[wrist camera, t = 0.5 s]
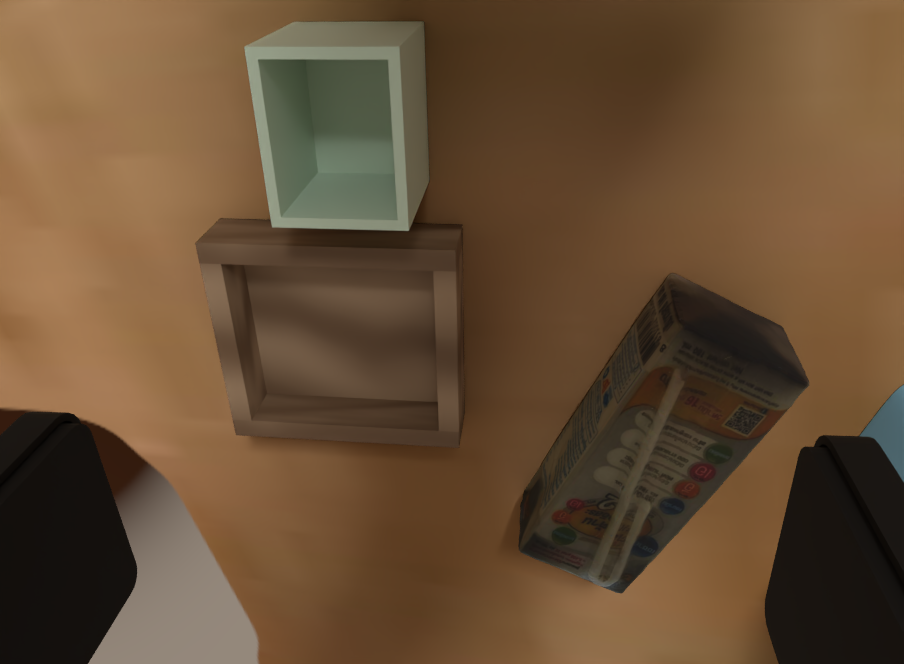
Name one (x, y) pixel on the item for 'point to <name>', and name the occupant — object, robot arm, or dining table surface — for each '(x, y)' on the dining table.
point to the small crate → (342, 123)
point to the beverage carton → (658, 434)
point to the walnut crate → (339, 330)
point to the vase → (890, 429)
